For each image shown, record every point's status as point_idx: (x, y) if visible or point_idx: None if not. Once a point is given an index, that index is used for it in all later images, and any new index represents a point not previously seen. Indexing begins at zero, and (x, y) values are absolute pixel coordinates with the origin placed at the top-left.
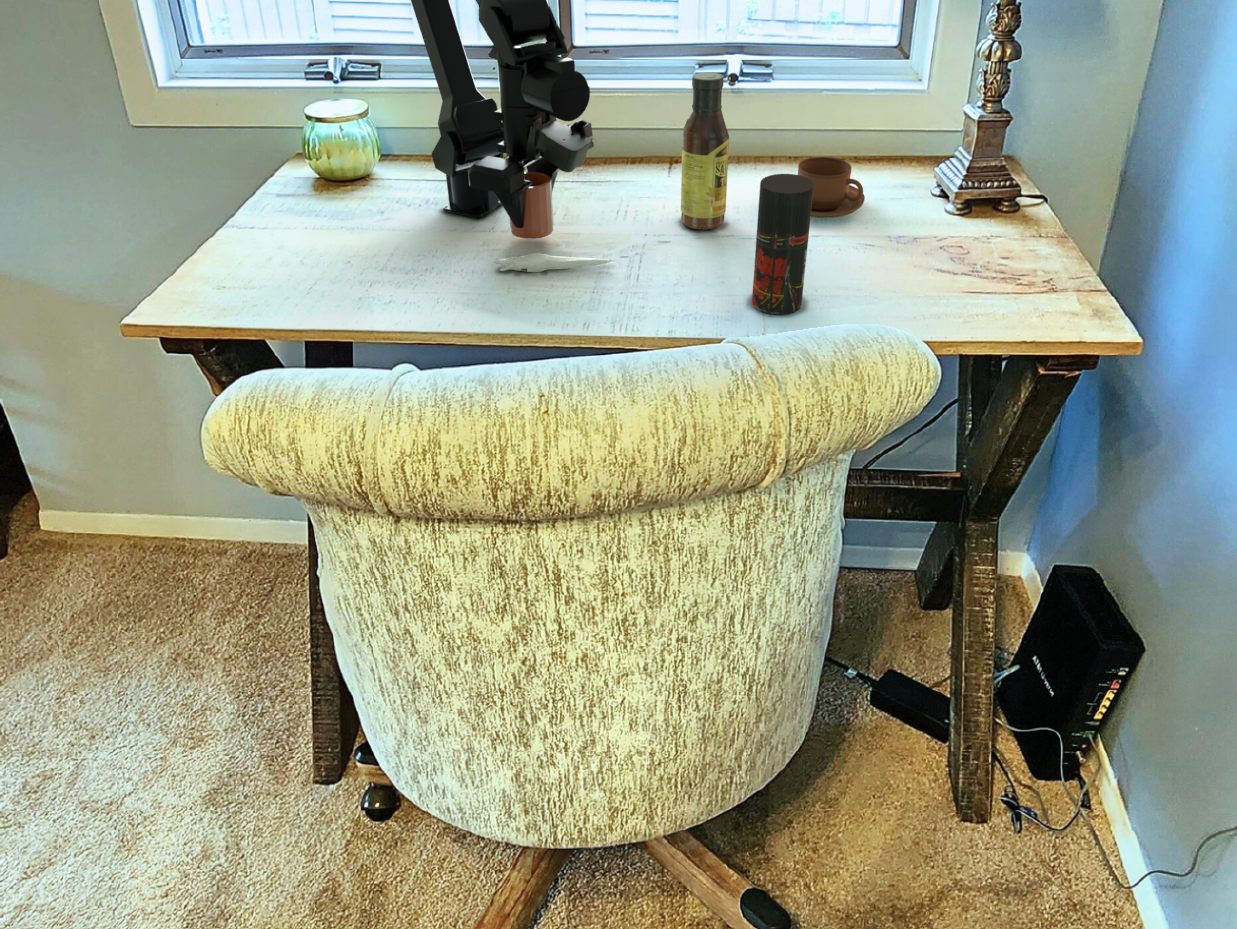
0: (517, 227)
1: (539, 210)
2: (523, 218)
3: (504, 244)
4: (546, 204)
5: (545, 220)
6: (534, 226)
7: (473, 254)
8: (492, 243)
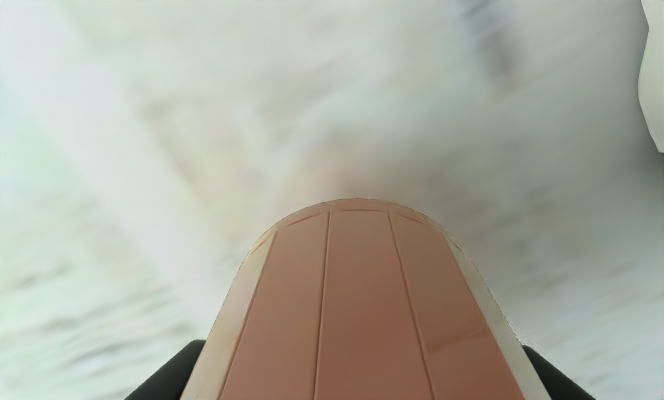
0: None
1: (504, 361)
2: (560, 396)
3: None
4: (422, 367)
5: (415, 261)
6: (482, 290)
7: None
8: None
